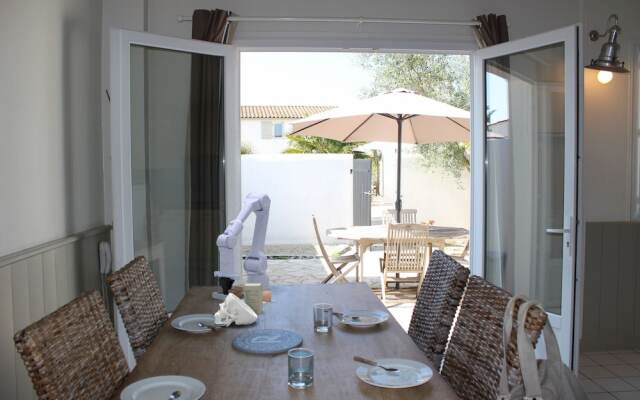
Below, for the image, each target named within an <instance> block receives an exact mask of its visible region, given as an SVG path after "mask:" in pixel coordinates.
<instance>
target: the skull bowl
mask: <svg viewBox="0 0 640 400" xmlns="http://www.w3.org/2000/svg"><path fill="white" fill-rule="evenodd" d="M218 305H219V307H220V308H219V309H218V311H217V312H215V314H214V315H213V316H214V318H215V321H214V322H213V324H214V323H216V324H227V326H226V327H229V326H230V325H231V324H232V323H233V322H235V325H243V326H244V325H252V323H254V322H256V321H257V319H258V314H256V313H255V312H254V311H253V310H252V309H251V308H250V307H249V306H248V305H247V304H245V303H244V302H243V301H242V300H240V299H239V298H238V297H237V296H235V295H234V294H232V293H230V294H229V295H228V296H227V297H226V299H225V301H224V300H223V302H222V303H219V304H218ZM223 319H226V320H225V321H221V320H223ZM226 327H225V328H226Z"/></svg>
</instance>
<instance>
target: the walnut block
mask: <svg viewBox="0 0 640 400" xmlns="http://www.w3.org/2000/svg"><path fill="white" fill-rule="evenodd" d="M230 293H232V294H234V295H235V296H237V297H238V298H239V299H240V300H242V290H241V289H236V288H235V287H234V288H231V289H230V290H228V295H229V294H230Z"/></svg>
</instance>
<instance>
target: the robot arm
mask: <svg viewBox="0 0 640 400" xmlns="http://www.w3.org/2000/svg"><path fill="white" fill-rule="evenodd" d="M271 202H272V201H271V198H270V197H269V195H268V194H267V193H263V194H262V193H248V194H247V195H246V196H245V198H244V200H243V205H242V208H241V209H240V212H239V213H238V215H237V217H236V218H235V219H233V220H231V221H230V222H229V225H228V226H227V227H226V229H225V230H224V232H223V233H221V234H219V235H218V237H217V239H216V242H215V243H216V246H217V247H218V252H219V270H218V271H217V270H215V271H214V272H213V274H214V275H213V276H214V277H220V278H218V282H219V284H220V285H221V288H222V291H223V293H224V295H227V296H228V290H230V289H233V288H232V287H233V285H234V283H235V281H240V280H241V279H240V275H239V274H237V273H234V270H235V269H234V268H235V267H234V266H235V265H234V262H235V261H234V248H235V247H236V246H237V243H238V238H239V235H240V234H241V232H242V231H243V230H244V223H245V221H246V220H247V219H248V218H249V216H250V215H251V213H254V215H255V216H256V218H255V224H254V230H253V236H252V241H251V242H252V243H251V248H250V249H251V250H250V251H249V252H248V253H247V254H245V259H244V260H243V262H242V267H243V270H244V271H245V274H246V279H247V280H246V281H247V282H246V284H261V283H262V291H264V290H269V291H270V277H269V274H268V273H266V272H267V270H268V256H267V255H266V254H265V253H264V249H265V242H266V236H267V235H266V234H267V230H268V223H269V217H270V208H271Z"/></svg>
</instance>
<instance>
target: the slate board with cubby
mask: <svg viewBox="0 0 640 400" xmlns="http://www.w3.org/2000/svg"><path fill="white" fill-rule="evenodd" d="M211 297H212V298H213V299H217V300H221V301H223V302H224V301H225V299H226V297H227V295H224V293H223V290H219V291H214V292H212V293H211ZM242 301H243V302H244V293H242ZM277 301H278V299H273V298H271V302H263V301H262V303H263V305H264V304H269V303H272V302H277Z"/></svg>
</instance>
